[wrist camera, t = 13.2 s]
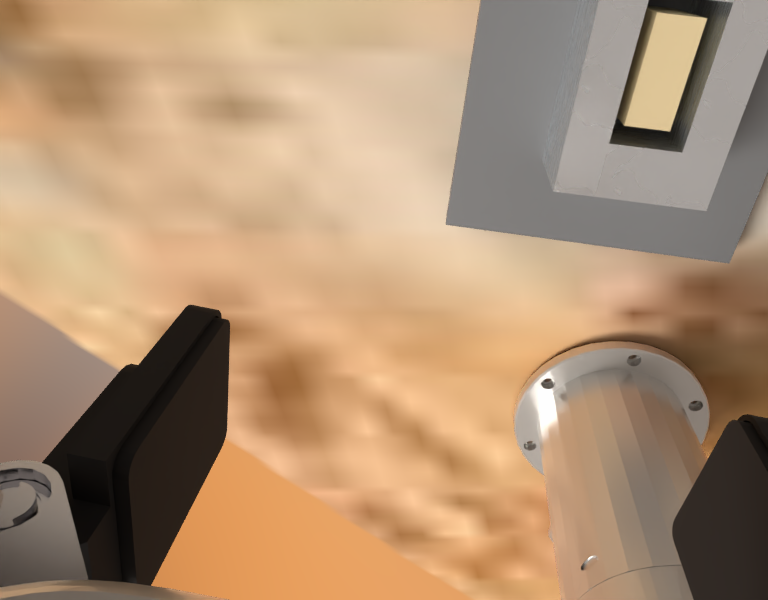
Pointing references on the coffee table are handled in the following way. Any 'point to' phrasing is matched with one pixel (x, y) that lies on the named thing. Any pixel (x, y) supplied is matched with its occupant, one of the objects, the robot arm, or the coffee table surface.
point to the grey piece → (637, 109)
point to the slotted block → (641, 145)
